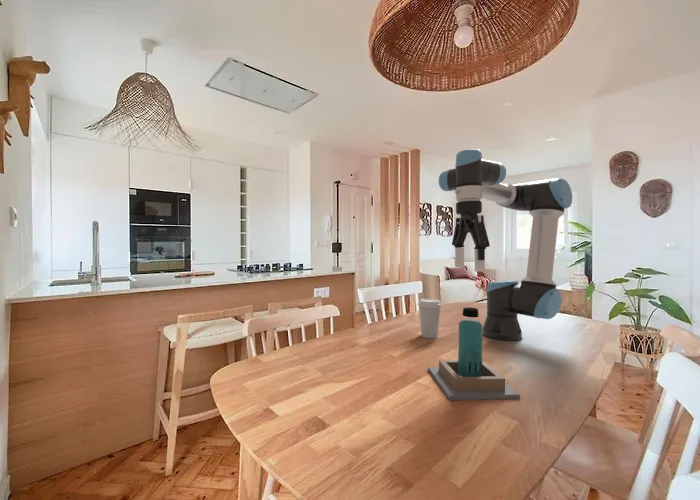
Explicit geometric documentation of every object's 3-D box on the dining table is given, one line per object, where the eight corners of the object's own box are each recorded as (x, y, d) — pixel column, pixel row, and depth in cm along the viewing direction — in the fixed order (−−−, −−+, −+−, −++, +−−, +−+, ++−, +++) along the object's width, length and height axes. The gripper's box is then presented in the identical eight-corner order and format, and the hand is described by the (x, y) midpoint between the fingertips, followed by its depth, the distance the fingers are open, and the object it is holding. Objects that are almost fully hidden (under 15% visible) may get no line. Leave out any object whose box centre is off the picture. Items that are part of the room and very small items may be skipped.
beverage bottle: (467, 386, 83) (468, 311, 82) (452, 375, 89) (453, 306, 89) (487, 383, 85) (489, 310, 84) (472, 373, 91) (473, 305, 91)
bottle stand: (485, 369, 97) (485, 356, 96) (520, 398, 79) (520, 382, 78) (428, 370, 96) (428, 357, 96) (449, 400, 78) (450, 384, 78)
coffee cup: (416, 338, 127) (417, 301, 127) (418, 331, 137) (418, 297, 136) (441, 340, 125) (441, 303, 124) (441, 333, 134) (441, 299, 133)
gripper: (442, 205, 109) (442, 265, 110) (476, 196, 85) (476, 274, 85) (462, 205, 110) (463, 265, 111) (502, 195, 85) (503, 273, 86)
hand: (469, 269), depth 98 cm, fingers open, 13 cm apart
